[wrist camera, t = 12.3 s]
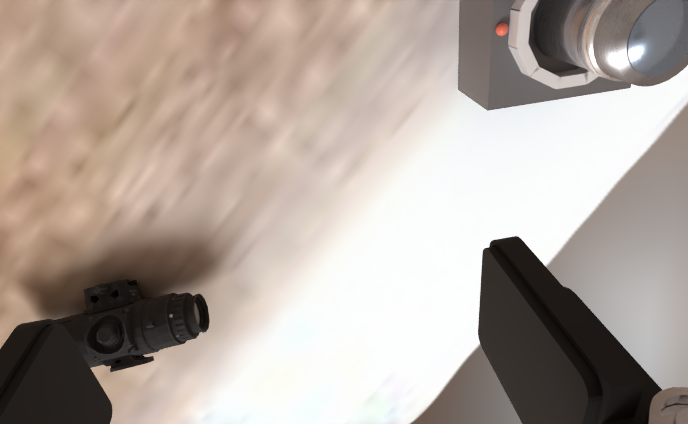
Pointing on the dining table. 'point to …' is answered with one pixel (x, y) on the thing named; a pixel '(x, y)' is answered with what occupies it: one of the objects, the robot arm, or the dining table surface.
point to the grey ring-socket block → (514, 59)
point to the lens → (616, 37)
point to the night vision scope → (133, 324)
